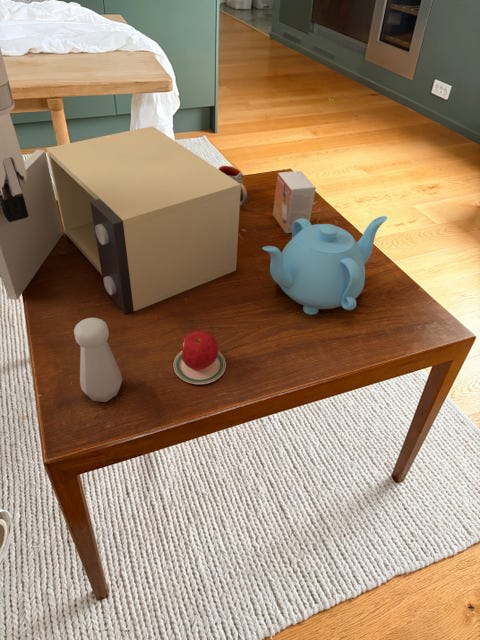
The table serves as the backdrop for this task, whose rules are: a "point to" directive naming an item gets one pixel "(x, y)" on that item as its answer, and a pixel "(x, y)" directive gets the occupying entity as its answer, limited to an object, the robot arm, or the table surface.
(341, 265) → the teapot
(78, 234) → the microwave
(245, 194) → the mug
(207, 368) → the apple
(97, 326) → the salt shaker
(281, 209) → the small box
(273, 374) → the table surface
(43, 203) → the microwave door
